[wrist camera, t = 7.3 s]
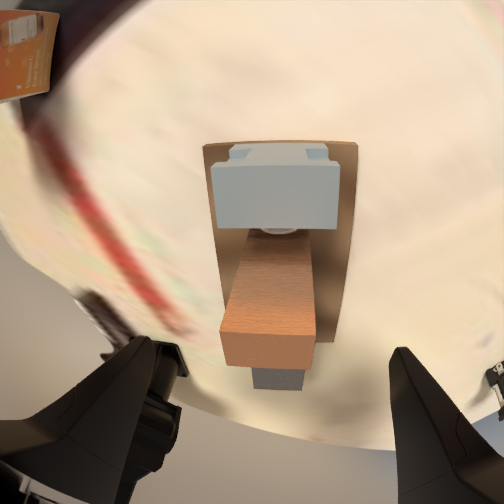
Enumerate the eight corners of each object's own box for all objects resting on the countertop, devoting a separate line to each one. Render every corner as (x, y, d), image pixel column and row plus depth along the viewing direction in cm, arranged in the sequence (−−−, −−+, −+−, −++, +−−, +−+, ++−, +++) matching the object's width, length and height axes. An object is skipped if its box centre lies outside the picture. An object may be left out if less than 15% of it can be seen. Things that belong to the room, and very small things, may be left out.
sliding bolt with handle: (300, 338, 22) (296, 442, 14) (261, 337, 22) (245, 439, 15) (307, 162, 15) (325, 247, 7) (249, 163, 15) (203, 245, 7)
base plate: (332, 334, 26) (333, 342, 25) (232, 331, 27) (230, 338, 27) (354, 142, 17) (358, 145, 16) (206, 144, 18) (202, 146, 17)
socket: (323, 187, 18) (336, 229, 13) (238, 188, 18) (217, 228, 13) (324, 143, 16) (340, 166, 11) (235, 144, 17) (210, 167, 12)
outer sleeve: (302, 342, 26) (301, 390, 21) (261, 340, 26) (253, 388, 21) (306, 299, 23) (307, 351, 18) (258, 298, 23) (249, 349, 19)
